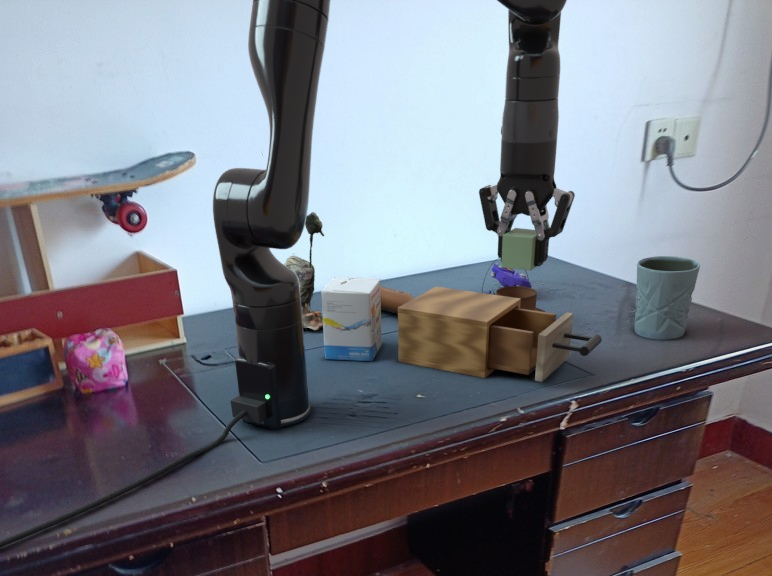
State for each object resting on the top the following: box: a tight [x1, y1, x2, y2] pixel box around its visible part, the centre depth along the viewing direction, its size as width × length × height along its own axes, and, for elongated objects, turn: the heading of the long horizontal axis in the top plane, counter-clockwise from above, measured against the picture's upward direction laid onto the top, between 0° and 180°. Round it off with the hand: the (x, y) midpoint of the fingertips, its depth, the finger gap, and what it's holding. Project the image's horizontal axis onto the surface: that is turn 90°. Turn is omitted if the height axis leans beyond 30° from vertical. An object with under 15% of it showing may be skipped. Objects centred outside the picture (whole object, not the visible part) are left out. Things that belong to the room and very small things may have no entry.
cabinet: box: [397, 286, 521, 379], centre depth 136 cm, size 16×13×9 cm
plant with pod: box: [283, 211, 325, 331], centre depth 149 cm, size 8×11×20 cm
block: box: [500, 227, 538, 272], centre depth 120 cm, size 5×5×5 cm
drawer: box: [487, 308, 603, 382], centre depth 131 cm, size 20×12×7 cm, turn 59°
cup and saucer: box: [495, 286, 546, 312], centre depth 150 cm, size 12×12×6 cm
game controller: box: [481, 257, 532, 294], centre depth 165 cm, size 10×8×10 cm
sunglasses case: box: [380, 285, 415, 315], centre depth 159 cm, size 18×7×7 cm
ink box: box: [320, 276, 383, 362], centre depth 139 cm, size 9×8×12 cm
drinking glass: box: [634, 255, 701, 341], centre depth 143 cm, size 10×10×12 cm
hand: (521, 262), depth 121 cm, fingers closed on block, 4 cm apart
